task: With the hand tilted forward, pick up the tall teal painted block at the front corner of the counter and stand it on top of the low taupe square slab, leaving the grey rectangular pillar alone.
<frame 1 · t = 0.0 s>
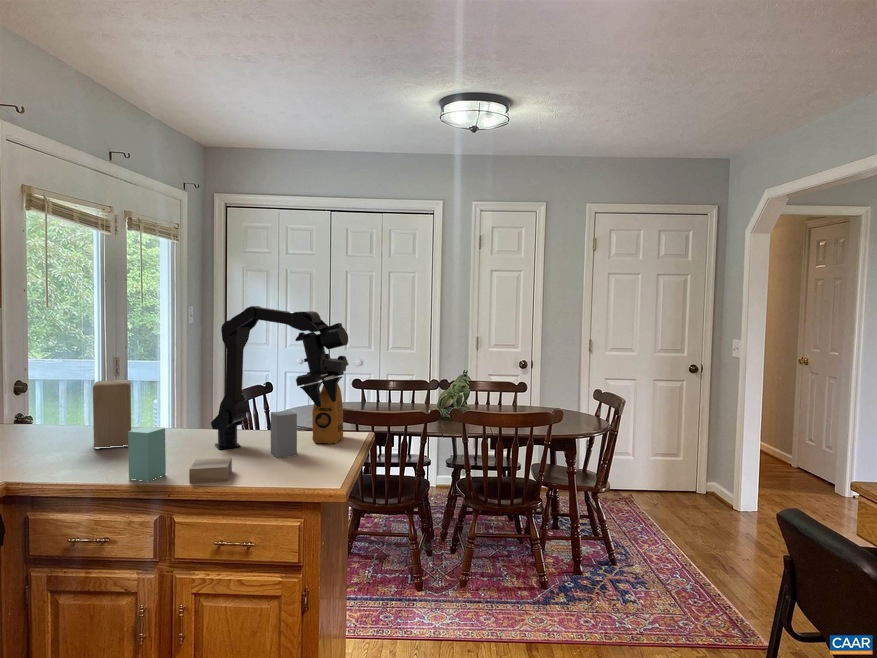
hand: (327, 404, 170), 15 cm above the table, tool pointing down, fingers open, 9 cm apart
taupe square slab: (211, 478, 149), on the table
block: (113, 445, 181), on the table
grey rectangular pillar: (283, 454, 172), on the table
teal pillar: (147, 477, 148), on the table
coffee package: (327, 440, 190), on the table
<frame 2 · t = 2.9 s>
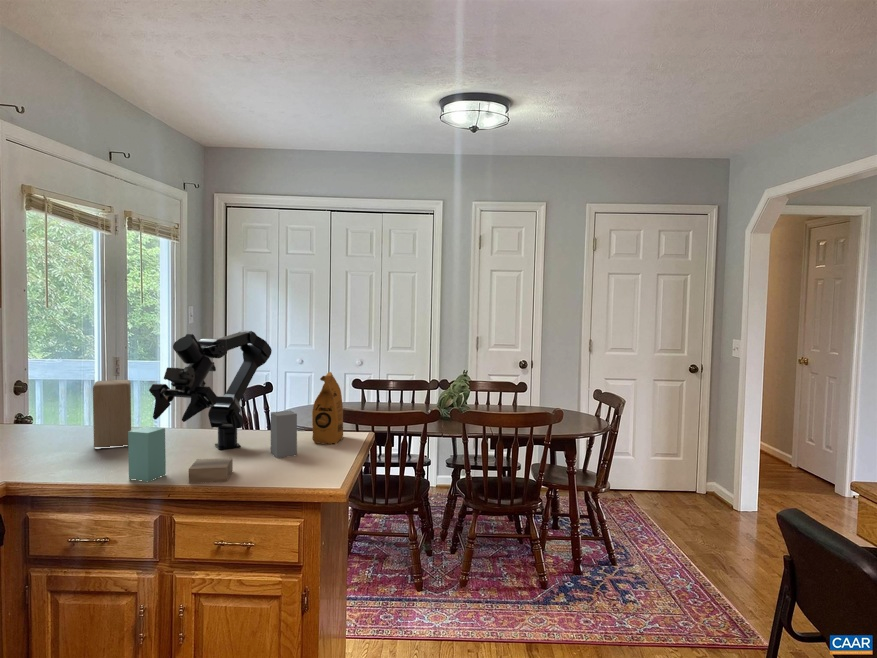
hand: (168, 419, 155), 14 cm above the table, tool tilted 45°, fingers open, 9 cm apart
nothing on the table moved.
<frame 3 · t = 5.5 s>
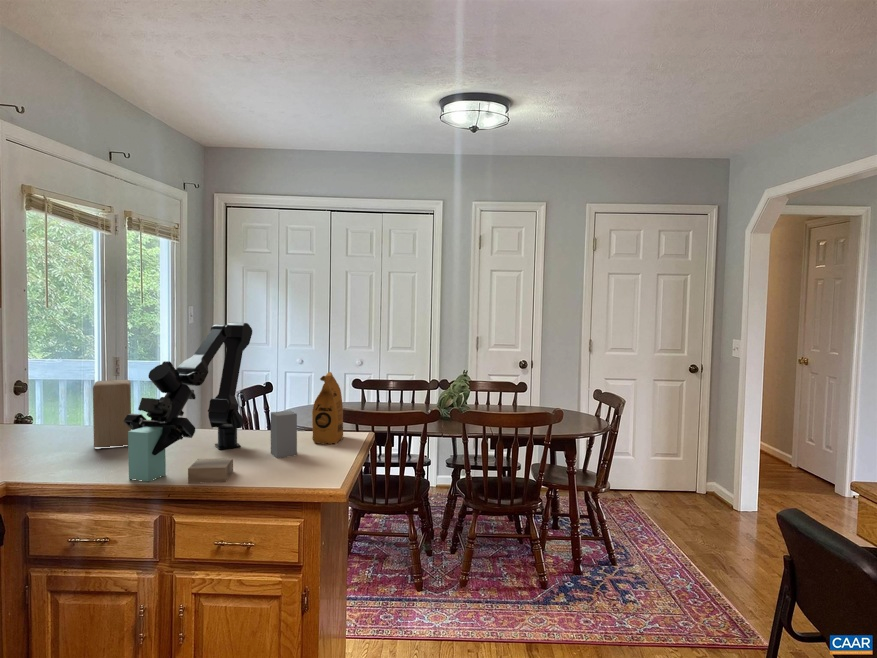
hand: (142, 453, 147), 7 cm above the table, tool tilted 45°, fingers closed on teal pillar, 6 cm apart
teal pillar: (147, 477, 148), on the table, touching gripper
everything else where it was.
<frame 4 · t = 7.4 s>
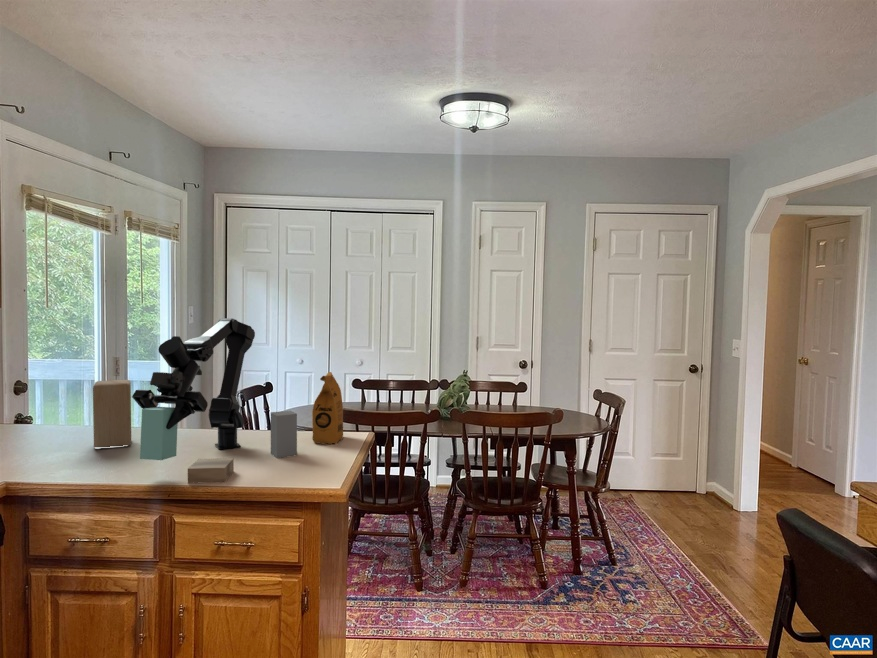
hand: (156, 427, 146), 13 cm above the table, tool tilted 45°, fingers closed on teal pillar, 6 cm apart
teal pillar: (158, 457, 147), point 6 cm above the table, touching gripper
everything else where it was.
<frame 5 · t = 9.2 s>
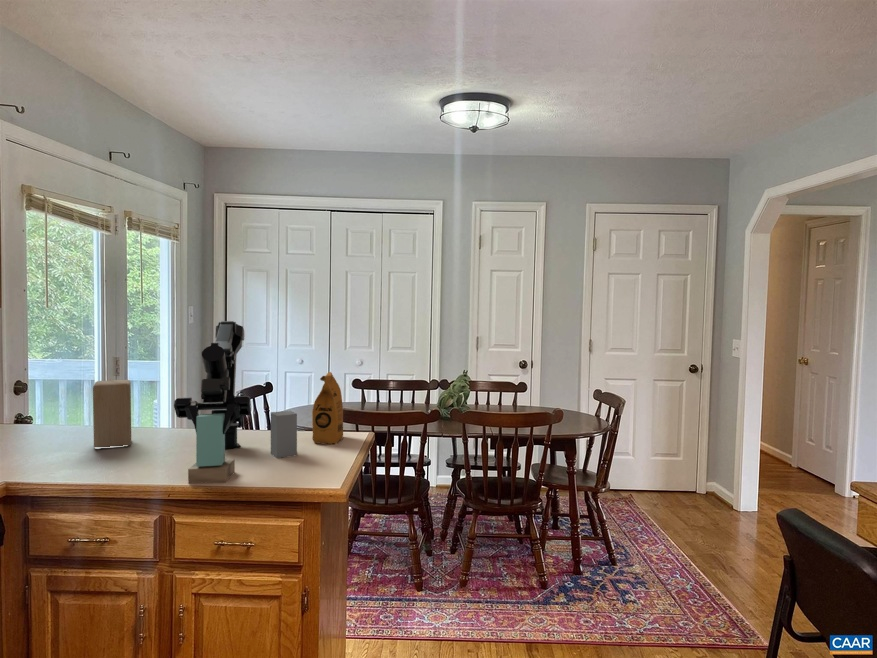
hand: (210, 433, 147), 12 cm above the table, tool tilted 45°, fingers closed on teal pillar, 6 cm apart
teal pillar: (210, 463, 148), point 4 cm above the table, tilted 6°, touching gripper
everything else where it was.
when the fingers open (12 cm above the table, at t = 9.2 s): teal pillar stays where it is, resting on taupe square slab.
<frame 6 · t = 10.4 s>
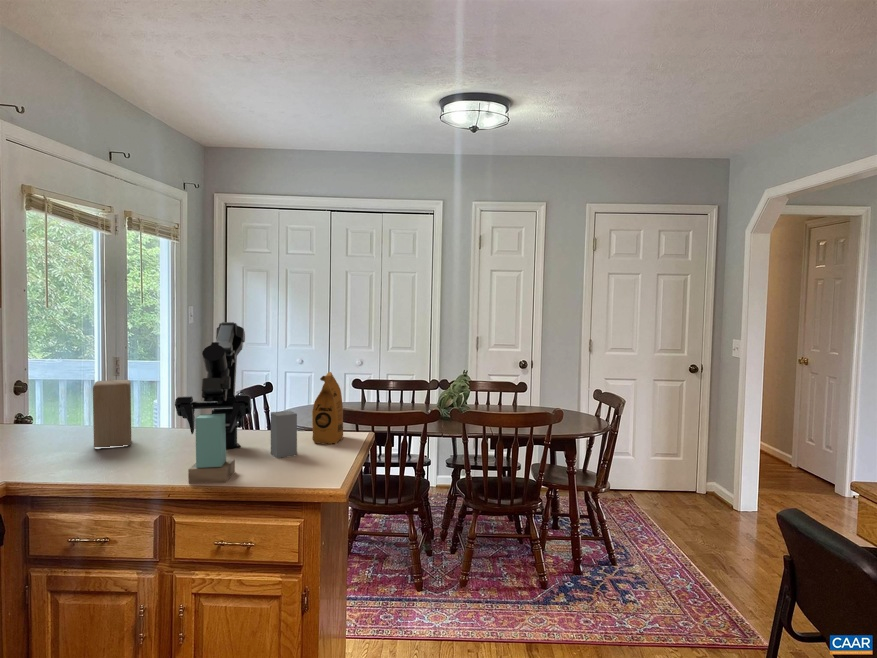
hand: (211, 432, 149), 12 cm above the table, tool tilted 45°, fingers open, 9 cm apart
taupe square slab: (212, 479, 149), on the table, touching teal pillar
teal pillar: (211, 464, 148), point 4 cm above the table, touching taupe square slab
everything else where it was.
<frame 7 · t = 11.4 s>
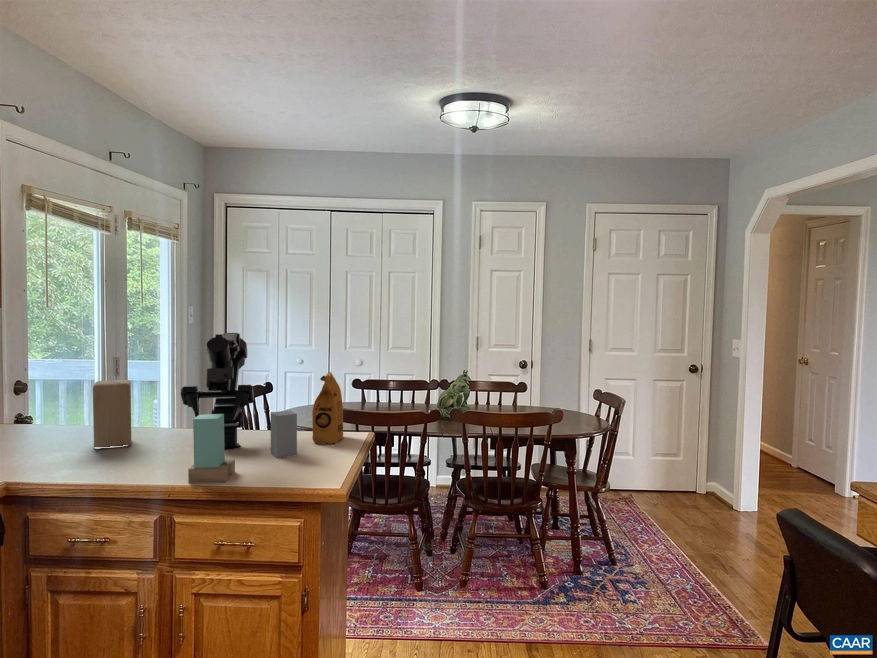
hand: (215, 420, 156), 13 cm above the table, tool tilted 45°, fingers open, 9 cm apart
taupe square slab: (212, 479, 149), on the table
teal pillar: (209, 464, 148), point 4 cm above the table
everything else where it was.
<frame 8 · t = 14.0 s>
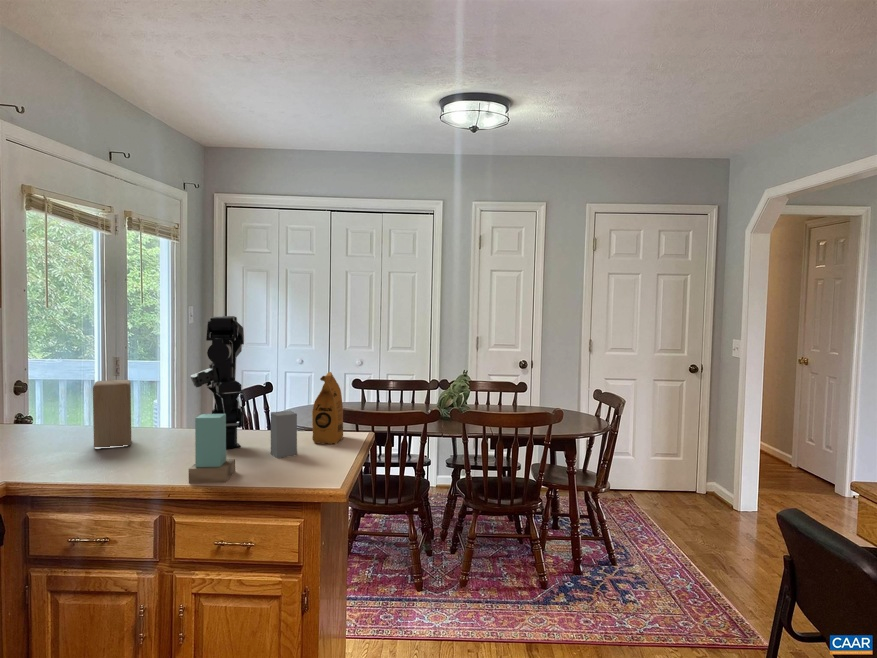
hand: (223, 413, 167), 13 cm above the table, tool pointing down, fingers open, 9 cm apart
taupe square slab: (212, 478, 149), on the table, touching teal pillar
teal pillar: (211, 464, 148), point 4 cm above the table, touching taupe square slab
everything else where it was.
at the end: teal pillar 0.6 cm off-centre on the taupe square slab, point 4.1 cm above the taupe square slab's base; teal pillar tilted 3°; the gripper is holding nothing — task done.
